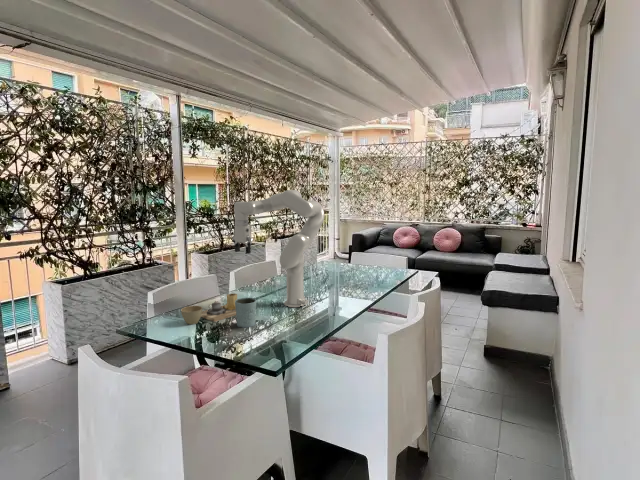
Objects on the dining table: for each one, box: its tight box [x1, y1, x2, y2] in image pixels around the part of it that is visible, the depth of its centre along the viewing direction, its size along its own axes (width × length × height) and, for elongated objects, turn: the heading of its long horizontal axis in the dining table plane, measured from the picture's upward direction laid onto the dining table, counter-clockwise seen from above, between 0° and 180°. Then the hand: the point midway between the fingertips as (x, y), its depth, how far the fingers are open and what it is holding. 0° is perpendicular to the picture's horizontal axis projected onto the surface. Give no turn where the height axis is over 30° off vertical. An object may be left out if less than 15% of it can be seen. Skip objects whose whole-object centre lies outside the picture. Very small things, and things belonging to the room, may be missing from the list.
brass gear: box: [222, 293, 238, 310], centre depth 204 cm, size 10×10×7 cm
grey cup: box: [235, 297, 257, 329], centre depth 183 cm, size 10×10×12 cm
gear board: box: [200, 300, 236, 322], centre depth 202 cm, size 15×25×7 cm, turn 140°
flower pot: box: [180, 305, 203, 325], centre depth 187 cm, size 10×10×7 cm
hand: (242, 252), depth 221 cm, fingers open, 9 cm apart
